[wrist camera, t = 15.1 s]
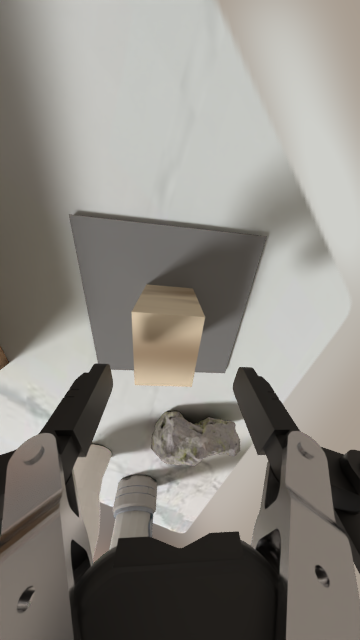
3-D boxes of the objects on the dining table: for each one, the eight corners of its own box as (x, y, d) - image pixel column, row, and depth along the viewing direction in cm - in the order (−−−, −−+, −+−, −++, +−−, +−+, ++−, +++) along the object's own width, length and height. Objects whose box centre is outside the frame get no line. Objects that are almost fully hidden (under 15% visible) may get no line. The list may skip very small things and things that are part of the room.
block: (146, 284, 17) (131, 312, 10) (192, 288, 17) (205, 317, 11) (146, 339, 20) (134, 385, 14) (185, 341, 20) (191, 386, 14)
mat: (72, 215, 14) (68, 214, 13) (263, 236, 16) (266, 236, 15) (101, 365, 22) (99, 369, 22) (223, 370, 24) (224, 373, 23)
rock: (236, 402, 28) (254, 447, 22) (232, 425, 31) (246, 469, 25) (149, 408, 27) (142, 455, 22) (153, 431, 31) (149, 477, 25)
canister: (164, 484, 43) (151, 889, 16) (133, 492, 44) (75, 871, 18) (144, 470, 38) (82, 996, 12) (110, 480, 40) (-10, 959, 13)
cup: (92, 433, 30) (29, 589, 17) (128, 455, 34) (102, 591, 21) (54, 450, 32) (-29, 601, 19) (93, 468, 37) (48, 600, 23)
